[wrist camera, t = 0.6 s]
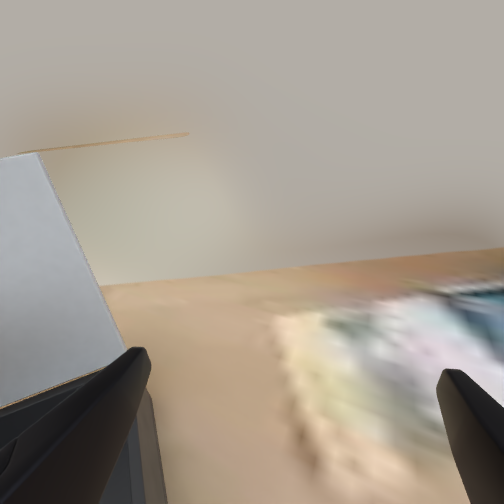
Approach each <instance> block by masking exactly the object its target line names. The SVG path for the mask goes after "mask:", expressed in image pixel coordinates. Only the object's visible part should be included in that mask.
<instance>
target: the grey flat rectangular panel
mask: <svg viewBox="0 0 504 504" xmlns="http://www.w3.org/2000/svg"><path fill="white" fill-rule="evenodd" d="M126 351H127V347H126V345H125V343H124V341H123V339H122V336H121V334H120V332H119V330H118V328H117V325H116V323H115V321H114V319H113V316H112V314H111V312H110V310H109V308H108V305H107V303H106V301H105V299H104V296H103V294H102V292H101V290H100V288H99V285H98V283H97V281H96V279H95V276H94V274H93V272H92V270H91V268H90V265H89V263H88V261H87V259H86V257H85V254H84V252H83V250H82V248H81V245H80V243H79V241H78V239H77V237H76V234H75V232H74V230H73V228H72V226H71V223H70V221H69V219H68V217H67V214H66V212H65V210H64V208H63V205H62V203H61V201H60V199H59V197H58V195H57V192H56V190H55V188H54V185H53V183H52V181H51V179H50V177H49V174H48V172H47V170H46V168H45V165H44V163H43V161H42V159H41V157H40V154H39V153H38V152H34V153H28V154H23V155H17V156H11V157H6V158H0V407H2V406H5V405H7V404H10V403H12V402H15V401H18V400H20V399H23V398H25V397H28V396H30V395H33V394H36V393H38V392H41V391H43V390H46V389H48V388H51V387H54V386H56V385H59V384H61V383H64V382H66V381H69V380H72V379H74V378H77V377H79V376H82V375H84V374H87V373H90V372H92V371H95V370H97V369H100V368H103V367H105V366H108V365H109V364H110V363H112V362H113V361H114V360H116V359H117V358H118V357H119V356H121V355H122V354H123V353H124V352H126Z"/></svg>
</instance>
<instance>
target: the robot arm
mask: <svg viewBox="0 0 504 504" xmlns="http://www.w3.org/2000/svg"><path fill="white" fill-rule="evenodd" d="M150 371H151V362H150V359H149V356H148V354H147V351H146V349H145V348H144V347H131V348H130V349H128V350H127V351H126V352H124V353H123V354H122V355H121V356H119V357H118V358H117V359H116V360H114V361H113V362H112V363H110V364H109V365H108V366H107V367H105V368H104V369H103V370H101V371H100V372H99V373H98V374H96V375H95V376H94V377H92V378H91V379H90V380H89V381H87V382H86V383H85V384H84V385H82V386H81V387H80V388H78V389H77V390H76V391H75V392H73V393H72V394H71V395H69V396H68V397H67V398H66V399H64V400H63V401H62V402H61V403H59V404H58V405H57V406H55V407H54V408H53V409H52V410H50V411H49V412H48V413H46V414H45V415H44V416H43V417H41V418H40V419H39V420H37V421H36V422H35V423H34V424H32V425H31V426H30V427H29V428H27V429H26V430H25V431H23V432H22V433H21V434H20V435H19V436H18V437H16V438H14V439H13V440H12V441H10V442H9V443H8V444H7V445H5V446H4V447H3V448H2V449H0V504H99V502H100V499H101V497H102V495H103V492H104V490H105V488H106V486H107V483H108V481H109V479H110V476H111V474H112V472H113V469H114V467H115V465H116V462H117V460H118V458H119V455H120V453H121V451H122V448H123V446H124V444H125V441H126V439H127V437H128V434H129V432H130V430H131V427H132V425H133V423H134V420H135V418H136V415H137V412H138V409H139V406H140V403H141V400H142V397H143V393H144V390H145V387H146V384H147V381H148V378H149V375H150ZM436 393H437V398H438V402H439V405H440V409H441V413H442V417H443V421H444V425H445V428H446V432H447V436H448V440H449V444H450V447H451V451H452V454H453V457H454V460H455V463H456V466H457V468H458V471H459V474H460V476H461V479H462V482H463V484H464V487H465V490H466V492H467V495H468V498H469V500H470V503H471V504H504V408H503V407H502V406H501V405H500V404H499V403H498V402H497V401H496V400H494V399H493V398H492V397H491V396H490V395H489V394H488V393H487V392H486V391H484V390H483V389H482V388H481V387H480V386H479V385H478V384H477V383H476V382H474V381H473V380H472V379H471V378H470V377H469V376H468V375H467V374H466V373H464V372H463V371H461V370H458V369H444V370H443V371H442V374H441V376H440V379H439V381H438V384H437V387H436Z"/></svg>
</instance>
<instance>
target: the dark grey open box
mask: <svg viewBox="0 0 504 504" xmlns="http://www.w3.org/2000/svg"><path fill="white" fill-rule="evenodd" d="M102 370H103V369H102ZM100 371H101V370H100ZM100 371H97V372H95V373H92V374H90V375H87V376H84V377H82V378H79V379H77V380H74V381H72V382H69V383H66V384H64V385H61V386H59V387H56V388H54V389H51V390H48V391H46V392H43V393H41V394H38V395H36V396H33V397H31V398H28V399H25V400H23V401H20V402H18V403H15V404H13V405H10V406H7V407H5V408H2V409H0V449H2V448H3V447H4V446H5V445H7V444H8V443H9V442H10V441H12V440H13V439H14V438H16V437H18V436H19V435H20V434H21V433H22V432H23V431H25V430H26V429H27V428H29V427H30V426H31V425H32V424H34V423H35V422H36V421H37V420H39V419H40V418H41V417H43V416H44V415H45V414H46V413H48V412H49V411H50V410H52V409H53V408H54V407H55V406H57V405H58V404H59V403H61V402H62V401H63V400H64V399H66V398H67V397H68V396H69V395H71V394H72V393H73V392H75V391H76V390H77V389H78V388H80V387H81V386H82V385H84V384H85V383H86V382H87V381H89V380H90V379H91V378H92V377H94V376H95V375H96V374H98V373H99V372H100ZM99 504H168V502H167V496H166V489H165V483H164V476H163V470H162V463H161V457H160V450H159V444H158V438H157V431H156V425H155V418H154V412H153V405H152V399H151V396H150V394H149V393H148V391H147V389H146V387H145V390H144V393H143V397H142V400H141V403H140V406H139V409H138V412H137V415H136V418H135V420H134V423H133V425H132V427H131V430H130V432H129V434H128V437H127V439H126V441H125V444H124V446H123V448H122V451H121V453H120V455H119V458H118V460H117V462H116V465H115V467H114V469H113V472H112V474H111V476H110V479H109V481H108V483H107V486H106V488H105V490H104V492H103V495H102V497H101V499H100V502H99Z"/></svg>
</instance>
